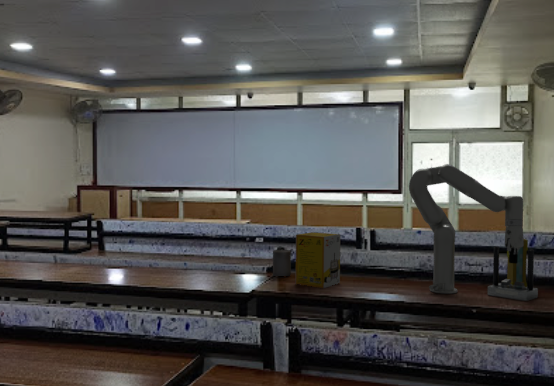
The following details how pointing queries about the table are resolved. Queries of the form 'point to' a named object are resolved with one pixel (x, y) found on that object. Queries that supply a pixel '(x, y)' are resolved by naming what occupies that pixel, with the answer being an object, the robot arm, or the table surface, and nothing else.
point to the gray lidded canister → (281, 263)
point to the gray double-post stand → (510, 289)
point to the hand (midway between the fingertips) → (513, 263)
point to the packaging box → (318, 259)
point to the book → (518, 266)
